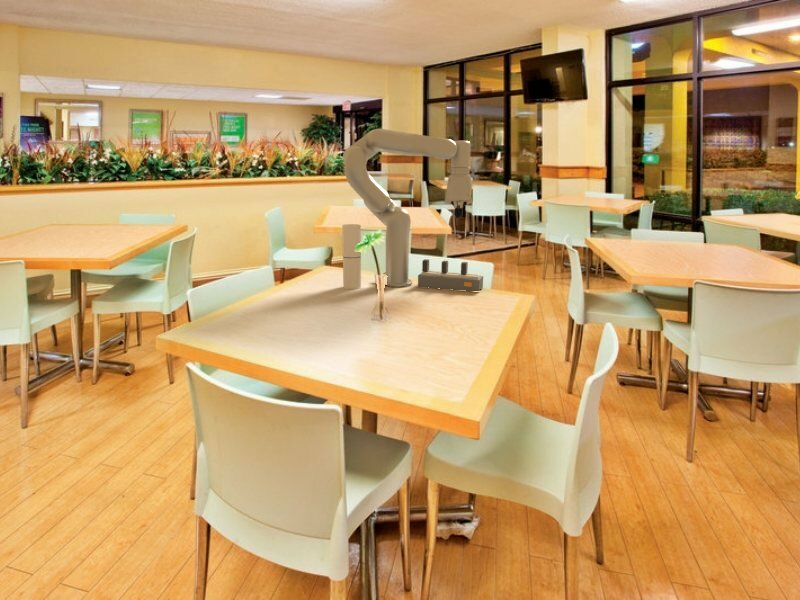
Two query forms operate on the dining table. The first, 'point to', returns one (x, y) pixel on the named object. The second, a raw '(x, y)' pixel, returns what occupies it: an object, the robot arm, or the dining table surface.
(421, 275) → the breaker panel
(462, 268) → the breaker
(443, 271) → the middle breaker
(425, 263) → the peg
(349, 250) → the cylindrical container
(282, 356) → the dining table surface
